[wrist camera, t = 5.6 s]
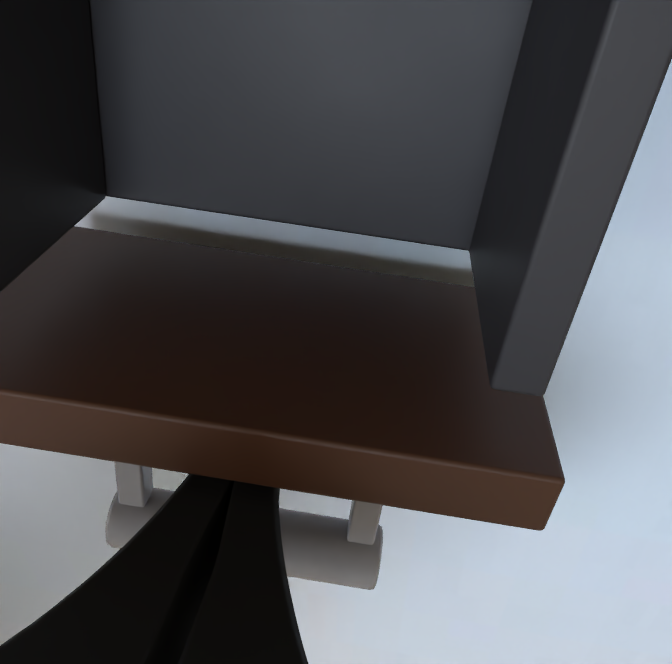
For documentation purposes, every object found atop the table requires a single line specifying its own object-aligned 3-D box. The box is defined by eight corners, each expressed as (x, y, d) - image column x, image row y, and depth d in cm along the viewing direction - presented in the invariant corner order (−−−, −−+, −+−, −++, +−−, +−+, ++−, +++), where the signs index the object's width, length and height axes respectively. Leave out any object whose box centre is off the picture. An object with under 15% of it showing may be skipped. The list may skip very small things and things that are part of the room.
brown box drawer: (460, 475, 18) (476, 685, 13) (93, 416, 18) (-27, 600, 13) (755, -465, 8) (1236, -1008, 3) (-33, -559, 8) (-630, -1189, 4)
